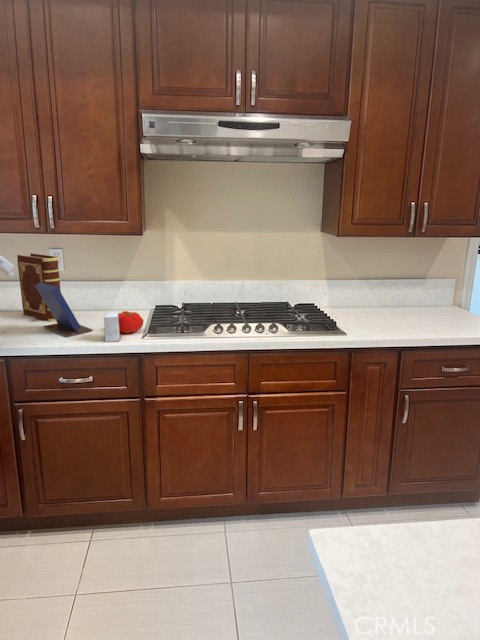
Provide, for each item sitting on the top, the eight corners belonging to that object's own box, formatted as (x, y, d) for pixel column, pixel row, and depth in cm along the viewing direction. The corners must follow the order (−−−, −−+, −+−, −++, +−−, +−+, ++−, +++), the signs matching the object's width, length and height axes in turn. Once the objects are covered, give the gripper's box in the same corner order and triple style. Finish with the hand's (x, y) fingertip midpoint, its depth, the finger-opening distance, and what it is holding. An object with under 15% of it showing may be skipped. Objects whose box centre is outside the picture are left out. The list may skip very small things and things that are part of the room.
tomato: (146, 333, 202) (145, 314, 200) (117, 336, 198) (116, 317, 195) (140, 326, 214) (140, 308, 211) (113, 329, 209) (111, 310, 207)
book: (75, 331, 201) (51, 290, 189) (58, 324, 210) (34, 285, 199) (80, 327, 202) (57, 286, 191) (63, 320, 212) (40, 282, 201)
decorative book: (66, 319, 224) (60, 256, 216) (52, 322, 218) (45, 258, 210) (37, 312, 236) (31, 253, 228) (23, 315, 229) (16, 254, 221)
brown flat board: (66, 337, 195) (66, 335, 195) (44, 328, 208) (43, 326, 208) (92, 332, 204) (92, 329, 204) (69, 323, 217) (68, 321, 217)
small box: (119, 341, 191) (117, 316, 189) (105, 342, 190) (103, 317, 188) (120, 335, 199) (118, 312, 196) (106, 336, 198) (104, 312, 195)
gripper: (-2, 248, 168) (28, 271, 178) (-23, 243, 181) (6, 265, 191) (-13, 261, 166) (18, 284, 176) (-34, 256, 179) (-4, 278, 189)
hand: (11, 274), depth 184 cm, fingers closed
